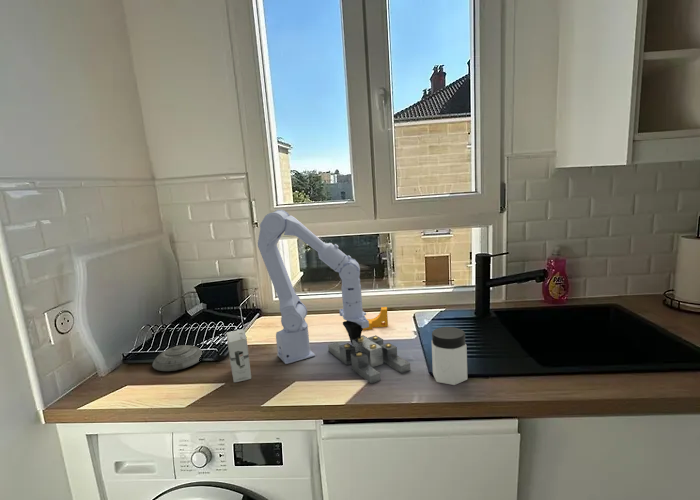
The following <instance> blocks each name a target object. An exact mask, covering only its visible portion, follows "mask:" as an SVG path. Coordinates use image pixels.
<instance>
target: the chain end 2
mask: <svg viewBox="0 0 700 500" xmlns="http://www.w3.org/2000/svg"><path fill="white" fill-rule="evenodd" d="M380 346H381V347H382V353H383V363H384V364H386V365H388V366H390V367H391V368H393V369H394V370H396V371H397V372H399V373H400V374H402V373H406V372H409V371H411V363H410V362H409V361H407V360H406V359H404V358H402V357H401V356H400V355H398V346H396V345H394V344H392V343H390V342H386V343H383V344H382V345H380ZM351 363H352V364H351V370H352V371H354V372H355V373H356V374H357V375H359V376H360V377H361V378H363V379H364V380H366V381H367V383H369V384H373V383H377V382H380V381H381V372H380V371H378V370H376V368H374V367H371V366H369V365H368V356H367V355H365V354H364V353H362V352H361V351H359V352H356V353H352V354H351Z"/></svg>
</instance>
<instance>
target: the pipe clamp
mask: <svg viewBox="0 0 700 500" xmlns="http://www.w3.org/2000/svg"><path fill="white" fill-rule="evenodd" d="M388 317H389V316H388V307H387V306H384V307H383V306H381V307H380V312H379V313H378V315H377V316H375V317H374V318H366V319H367V320H368V321H369V327H367V328H364V329H363V330H362V331H368V330H369V331H372V330H373V329H374V328H376V329H377V328H387V327H388V328H389V319H388Z"/></svg>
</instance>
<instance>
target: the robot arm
mask: <svg viewBox="0 0 700 500" xmlns="http://www.w3.org/2000/svg"><path fill="white" fill-rule="evenodd" d="M282 235H284V236H293V237H297V238H298V239H299V240H301V241H302V242H304V243H305V244H306V245H308V246H310V248H312V249H313V250H315V251H316V252H317V255H318V259H319V260H320V261H322V263H325V265H327V266H328V267H329V268H330V269H331V270H333V271H334V272H336V273H338V277H339V278H340V280H341V287H340V288H341V296H342V297H341V298H342V299H341V300H342V308H339V309H338V311H339V316H340V317H342V318H343V320H344V321H343V322H342V325H343V327H344V328H345V330H346V332H347V335H348V338H349V341H350V345H352V346H353V343H352V339H356V338H358V337H361V336H362V332H363V331H364V330H363V329H364V328H367V327H369V321H368V320H367V319H368V318H366V316H367V312H365V311H364V310H363V298H362V285H361V278H360V276H361V266H360V264H359V262H358V261H357V260H356V259H355V258H352V256H350V255H347V254H345V253H344V252H343V251H342V250H341V249H339V245H338V244H337V243H334V244H333V243H332V242H328V243H327V242H324V241H323V240H322V239H320V238H319V237H318V236H317V235H316V234H315V233H313V232H312V230H310V229H309V228H308V227H306V226H305V224H303V223H302V222H301V221H300V220H298V219H297V218H296V217H295V216H293V215H290V214H289V212H287V211H286V210H284V209H277V210H275V211H273V212H269V213H267V214H266V215H265V216H264V218H262V220H261V222H260V224H259V235H258V240H257V247H258V250H259V252H260V255H261V259H263V262H264V265H265V268H266V269H267V273H268V275H269V277H270V280H271V284H272V286H273V288H274V290H275V293H276V296H277V298H278V300H279V311H280V314H281V318H280V322H281V326H282V329H281V330H279V331H276V333H275V338H276V339H275V341H276V348H277V351H276V352H277V354H276V355H277V357H278V358H279V359H280V360H281V361H282V362H283V363H284V364H285V365H287V364H292V363H295V362H298V361H302V360H305V359H309V358H313V357H315V356H316V354H315V353H314V352H313V351H312V350H311V347H310V345H311V344H310V337H309V327H308V323H307V321H306V320H305V319H306V317H307V315H308V309H307V307H306V305H305V304H304V303H303V302H302V301H301V299H300V296H299V295H298V294H297V293H296V292H295V291H296V290H295V289H294V287H293V284H292V282H291V279H290V276H289V274H288V272H287V268H286V266H285V263H284V261H283V257H282V256H281V255H282V254H281V253H280V250H279V248H278V243H279V241H280V239H281V237H282Z"/></svg>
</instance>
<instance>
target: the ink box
mask: <svg viewBox="0 0 700 500" xmlns="http://www.w3.org/2000/svg"><path fill="white" fill-rule="evenodd" d="M226 339H227V348H228V356H229V357H228V358H229V363H230V371H231V374H232V375H231V376H232V381H233V383H238V382H242V381H243V382H244V381H247V380H251V379H252V373H251V372H252V371H251V364H250V363H251V362H250V356H249V347H248V339H247V335H246V332H245V329H244V328H242V329H237V330H233V331H228V332H226Z"/></svg>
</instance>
